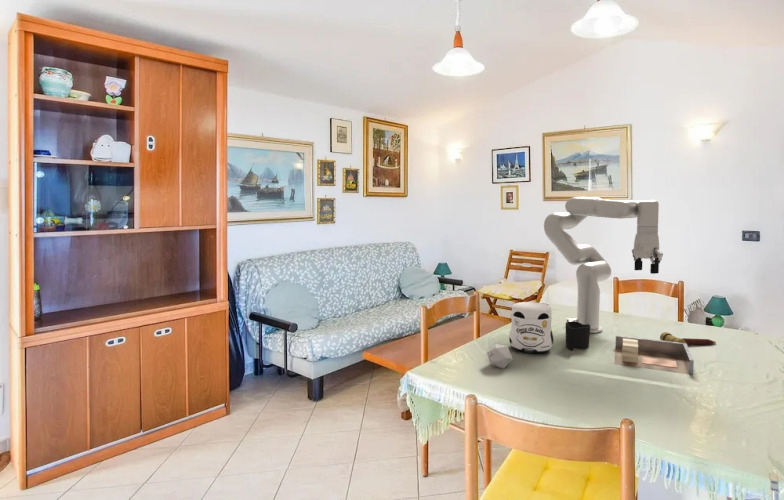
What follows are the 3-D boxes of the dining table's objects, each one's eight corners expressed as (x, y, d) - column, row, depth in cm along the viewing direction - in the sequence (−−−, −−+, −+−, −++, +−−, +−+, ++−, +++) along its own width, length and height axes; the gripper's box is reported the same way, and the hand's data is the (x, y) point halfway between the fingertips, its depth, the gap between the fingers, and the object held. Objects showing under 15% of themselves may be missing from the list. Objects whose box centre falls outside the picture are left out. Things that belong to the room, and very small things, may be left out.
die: (488, 362, 171) (480, 346, 166) (507, 350, 172) (500, 335, 166) (498, 377, 165) (490, 361, 159) (518, 365, 165) (511, 349, 160)
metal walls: (614, 363, 164) (615, 350, 163) (615, 347, 181) (615, 335, 181) (692, 374, 153) (693, 360, 152) (685, 356, 170) (686, 343, 170)
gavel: (707, 333, 191) (725, 340, 181) (705, 343, 192) (724, 351, 182) (660, 331, 190) (676, 339, 180) (659, 342, 191) (675, 350, 181)
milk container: (524, 358, 173) (524, 313, 171) (501, 344, 190) (501, 303, 188) (562, 353, 178) (563, 309, 176) (536, 340, 195) (537, 300, 193)
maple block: (637, 362, 164) (638, 347, 163) (622, 360, 166) (622, 345, 166) (636, 355, 172) (637, 340, 171) (622, 353, 174) (622, 338, 174)
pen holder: (584, 344, 189) (585, 321, 188) (593, 351, 179) (594, 327, 178) (561, 344, 189) (562, 321, 188) (569, 352, 180) (570, 327, 179)
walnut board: (614, 366, 164) (614, 363, 164) (615, 349, 181) (615, 346, 181) (692, 377, 153) (692, 374, 153) (685, 358, 170) (685, 355, 170)
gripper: (625, 229, 191) (624, 269, 193) (653, 231, 174) (652, 275, 176) (641, 229, 192) (640, 268, 194) (671, 231, 175) (669, 274, 177)
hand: (646, 271), depth 185 cm, fingers open, 9 cm apart
